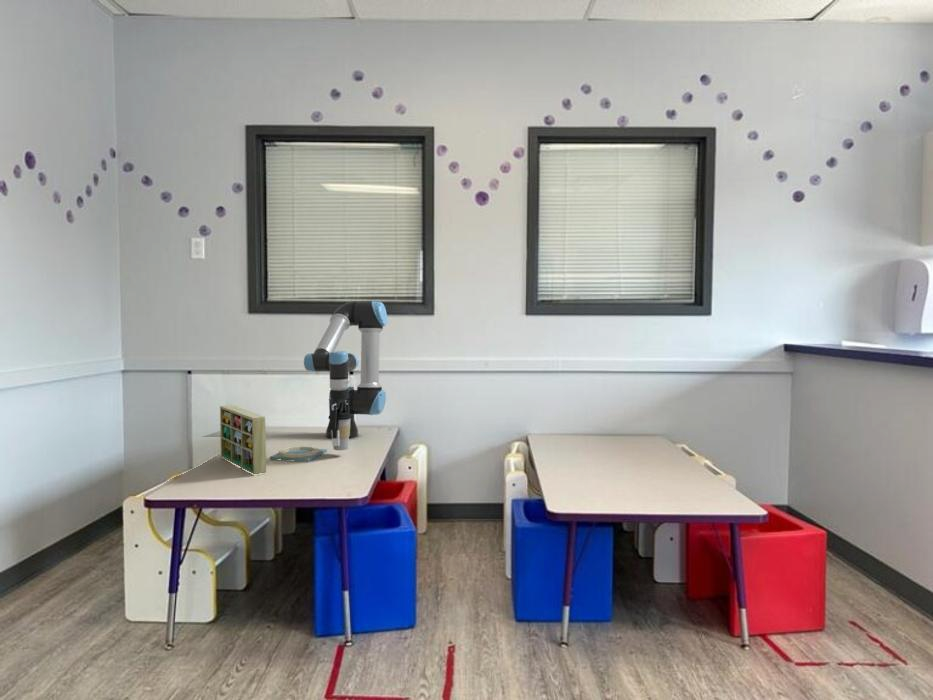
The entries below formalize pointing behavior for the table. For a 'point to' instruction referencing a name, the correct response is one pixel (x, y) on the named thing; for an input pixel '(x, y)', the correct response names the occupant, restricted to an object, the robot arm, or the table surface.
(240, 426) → the beige cubby shelf
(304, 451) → the ring mat
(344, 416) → the coffee cup
